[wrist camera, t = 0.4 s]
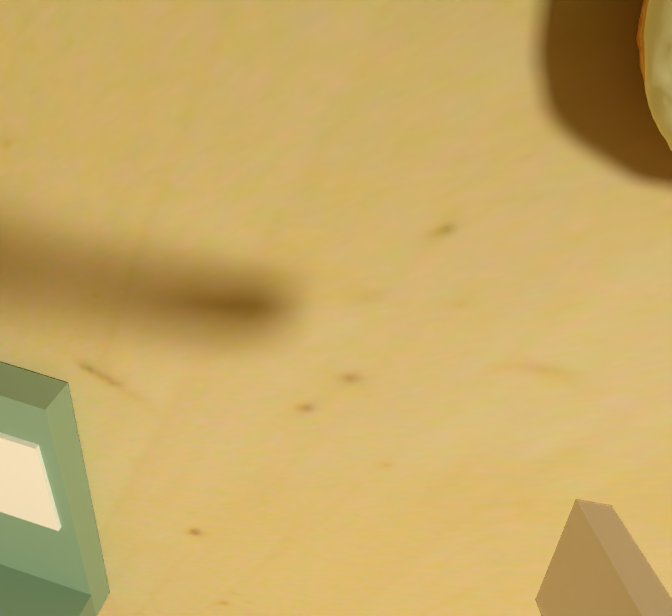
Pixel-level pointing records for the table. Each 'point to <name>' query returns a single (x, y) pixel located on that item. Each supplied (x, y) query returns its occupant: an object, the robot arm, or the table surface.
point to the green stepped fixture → (45, 504)
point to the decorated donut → (657, 61)
